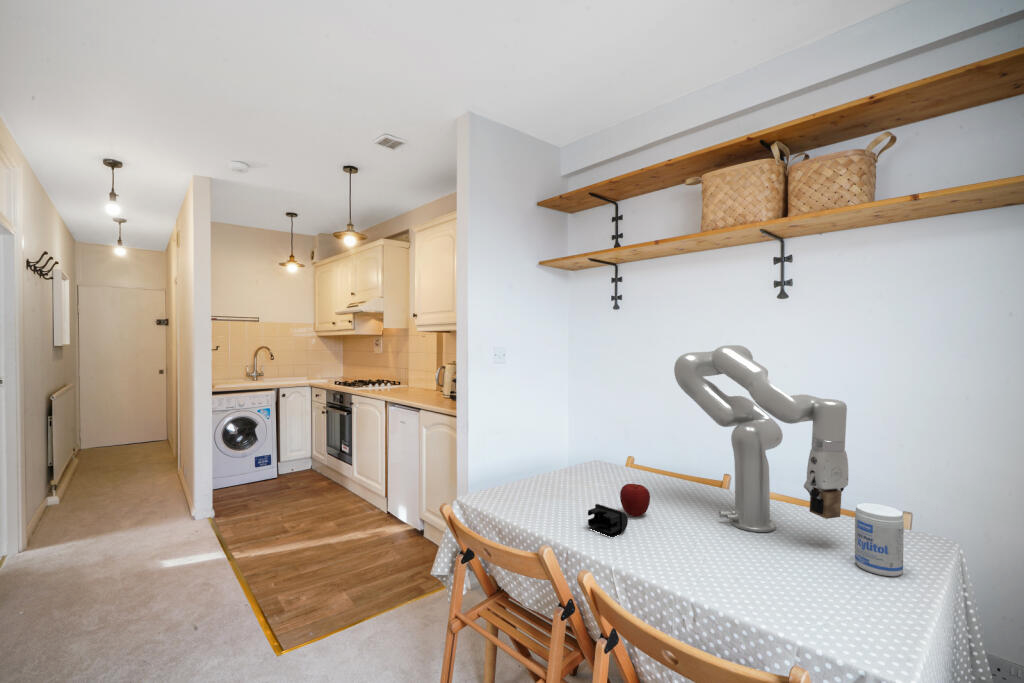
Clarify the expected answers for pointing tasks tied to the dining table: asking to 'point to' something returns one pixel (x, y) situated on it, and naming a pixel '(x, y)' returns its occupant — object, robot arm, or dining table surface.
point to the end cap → (607, 520)
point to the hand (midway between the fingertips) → (824, 510)
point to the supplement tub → (879, 539)
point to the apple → (635, 499)
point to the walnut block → (830, 504)
